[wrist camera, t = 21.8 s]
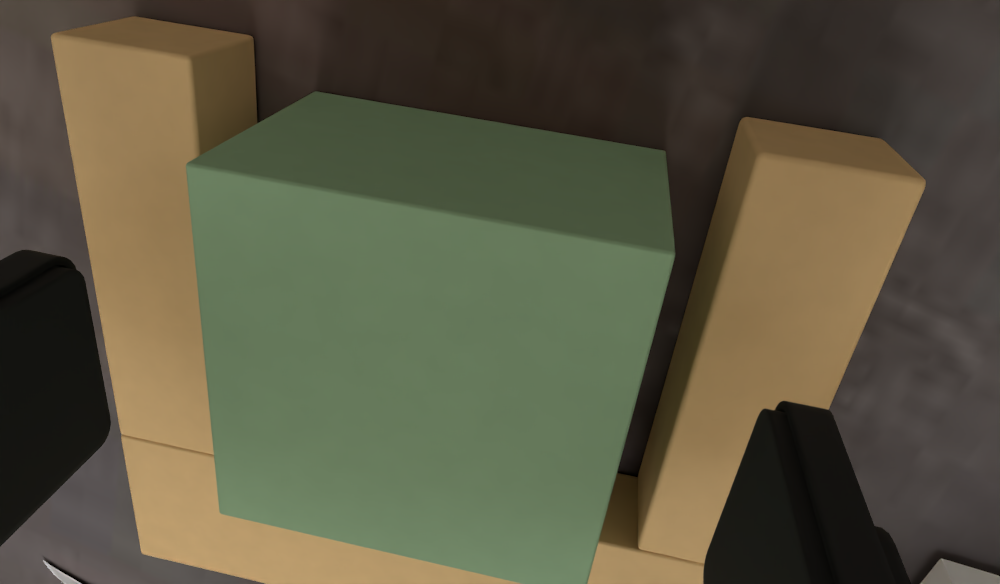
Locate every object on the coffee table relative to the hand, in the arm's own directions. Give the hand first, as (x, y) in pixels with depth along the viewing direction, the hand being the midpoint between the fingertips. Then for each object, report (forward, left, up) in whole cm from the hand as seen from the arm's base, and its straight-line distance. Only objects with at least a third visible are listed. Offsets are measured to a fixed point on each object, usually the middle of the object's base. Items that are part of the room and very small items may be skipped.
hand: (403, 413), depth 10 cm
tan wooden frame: (+2, 0, -4) cm, 5 cm away
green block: (0, 0, -4) cm, 4 cm away
